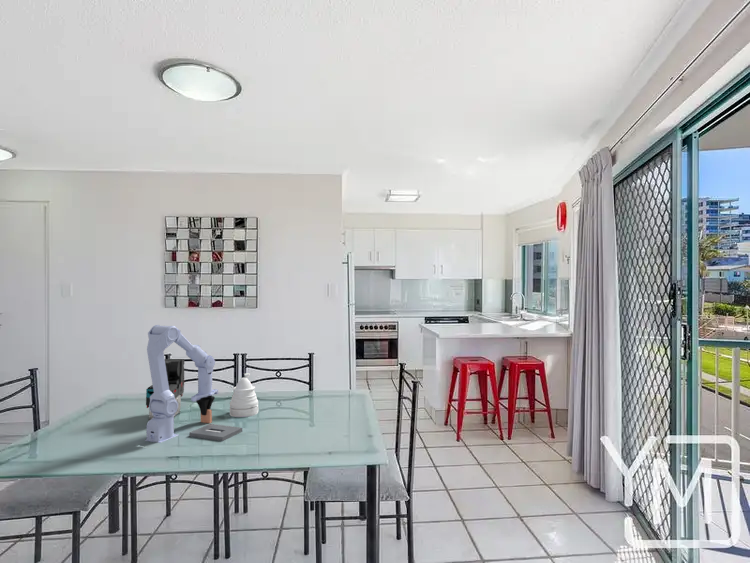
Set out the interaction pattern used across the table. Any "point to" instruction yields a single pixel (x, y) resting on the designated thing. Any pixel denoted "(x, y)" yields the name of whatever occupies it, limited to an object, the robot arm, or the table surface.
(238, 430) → the gray slotted plate
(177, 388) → the bill acceptor
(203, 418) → the upright peach slab
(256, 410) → the honey pot
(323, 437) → the table surface
